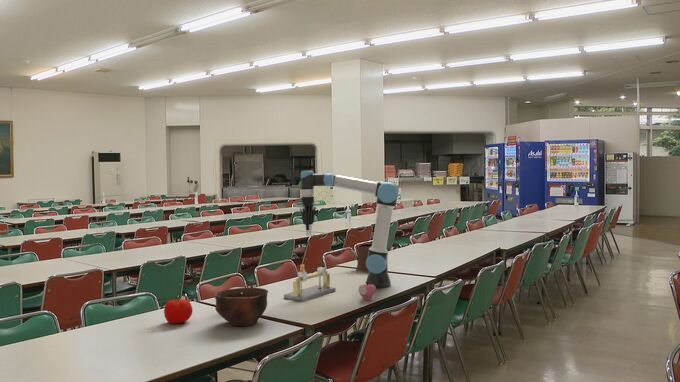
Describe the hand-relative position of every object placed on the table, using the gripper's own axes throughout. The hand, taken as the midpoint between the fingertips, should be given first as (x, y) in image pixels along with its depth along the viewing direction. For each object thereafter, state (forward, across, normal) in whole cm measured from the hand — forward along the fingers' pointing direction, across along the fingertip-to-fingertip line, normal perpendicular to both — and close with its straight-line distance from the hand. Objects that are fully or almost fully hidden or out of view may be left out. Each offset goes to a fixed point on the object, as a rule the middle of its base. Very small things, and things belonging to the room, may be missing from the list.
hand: (308, 235), depth 330 cm
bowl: (+33, +75, +16) cm, 83 cm away
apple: (+33, +6, +44) cm, 55 cm away
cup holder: (+33, -71, -5) cm, 79 cm away
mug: (+33, +55, -5) cm, 64 cm away
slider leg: (+30, +20, +10) cm, 38 cm away
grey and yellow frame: (+33, +12, +8) cm, 36 cm away
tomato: (+32, +90, -12) cm, 96 cm away
